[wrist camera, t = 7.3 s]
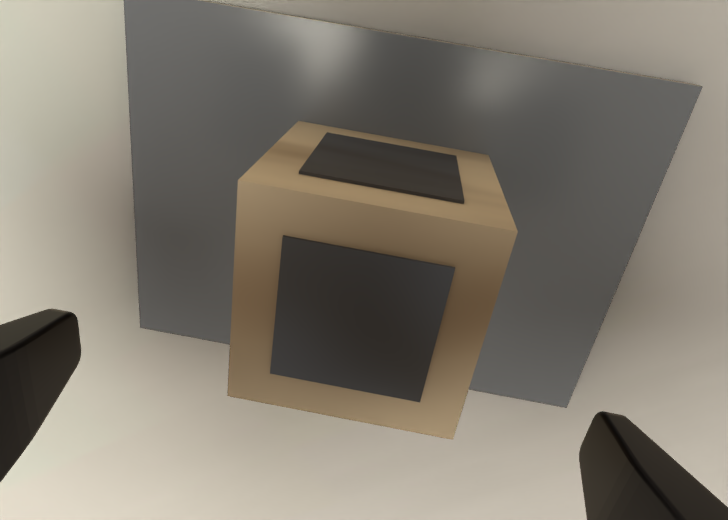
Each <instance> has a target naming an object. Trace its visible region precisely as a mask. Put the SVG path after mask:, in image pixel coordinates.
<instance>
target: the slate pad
mask: <svg viewBox="0 0 728 520" xmlns="http://www.w3.org/2000/svg"><path fill="white" fill-rule="evenodd" d="M124 14H125V34H126V53H127V73H128V93H129V113H130V133H131V153H132V172H133V192H134V212H135V232H136V252H137V272H138V292H139V311H140V328H145V329H150V330H156V331H161V332H166V333H172V334H177V335H182V336H188V337H193V338H198V339H203V340H209V341H214V342H219V343H225V344H230V334H231V314H232V293H233V272H234V251H235V230H236V209H237V188H238V179H240V178H241V177H242V176H243V175H244V174H245V173H246V172H247V171H248V170H249V169H250V168H251V167H252V166H253V165H254V164H255V163H256V162H257V161H258V160H259V159H260V158H261V157H262V156H263V155H264V154H265V153H266V152H267V151H268V150H269V149H270V148H271V147H272V146H273V145H274V144H275V143H276V142H277V141H278V140H279V139H280V138H281V137H282V136H283V135H285V134H286V133H287V132H288V131H289V130H290V129H291V128H292V127H293V126H294V125H295V124H296V123H297V122H298V121H302V122H308V123H313V124H319V125H324V126H330V127H335V128H341V129H347V130H352V131H358V132H363V133H369V134H374V135H380V136H385V137H391V138H396V139H402V140H408V141H413V142H419V143H424V144H430V145H435V146H441V147H446V148H452V149H458V150H463V151H469V152H474V153H480V154H485V155H489V158H490V160H491V163H492V165H493V168H494V171H495V173H496V176H497V179H498V181H499V184H500V186H501V189H502V192H503V194H504V197H505V199H506V202H507V205H508V207H509V210H510V212H511V215H512V218H513V220H514V223H515V225H516V228H517V231H518V233H517V236H516V239H515V242H514V245H513V249H512V252H511V255H510V258H509V261H508V265H507V268H506V271H505V274H504V277H503V281H502V284H501V287H500V290H499V293H498V297H497V300H496V303H495V306H494V309H493V312H492V316H491V319H490V322H489V325H488V328H487V332H486V335H485V338H484V341H483V344H482V348H481V351H480V354H479V357H478V360H477V364H476V367H475V370H474V373H473V376H472V380H471V383H470V386H469V390H474V391H480V392H485V393H490V394H496V395H501V396H506V397H512V398H517V399H522V400H527V401H533V402H538V403H543V404H549V405H554V406H559V407H565V408H567V405H568V403H569V400H570V398H571V396H572V393H573V391H574V389H575V386H576V384H577V382H578V379H579V377H580V375H581V372H582V370H583V367H584V365H585V363H586V360H587V358H588V356H589V353H590V351H591V349H592V346H593V344H594V342H595V339H596V337H597V334H598V332H599V330H600V327H601V325H602V323H603V320H604V318H605V316H606V313H607V311H608V308H609V306H610V304H611V301H612V299H613V297H614V294H615V292H616V290H617V287H618V285H619V283H620V280H621V278H622V275H623V273H624V271H625V268H626V266H627V264H628V261H629V259H630V257H631V254H632V252H633V250H634V247H635V245H636V242H637V240H638V238H639V235H640V233H641V231H642V228H643V226H644V224H645V221H646V219H647V216H648V214H649V212H650V209H651V207H652V205H653V202H654V200H655V198H656V195H657V193H658V191H659V188H660V186H661V183H662V181H663V179H664V176H665V174H666V172H667V169H668V167H669V165H670V162H671V160H672V158H673V155H674V153H675V150H676V148H677V146H678V143H679V141H680V139H681V136H682V134H683V132H684V129H685V127H686V124H687V122H688V120H689V117H690V115H691V113H692V110H693V108H694V106H695V103H696V101H697V99H698V96H699V94H700V91H701V89H702V86H699V85H696V84H692V83H686V82H680V81H674V80H668V79H662V78H656V77H651V76H645V75H639V74H633V73H627V72H621V71H615V70H610V69H604V68H598V67H592V66H586V65H580V64H574V63H569V62H563V61H557V60H551V59H545V58H539V57H533V56H528V55H522V54H516V53H510V52H504V51H498V50H492V49H487V48H481V47H475V46H469V45H463V44H457V43H451V42H446V41H440V40H434V39H428V38H422V37H416V36H410V35H405V34H399V33H393V32H387V31H381V30H375V29H369V28H364V27H358V26H352V25H346V24H340V23H334V22H328V21H322V20H317V19H311V18H305V17H299V16H293V15H287V14H281V13H276V12H270V11H264V10H258V9H252V8H246V7H240V6H235V5H229V4H223V3H217V2H211V1H205V0H124Z"/></svg>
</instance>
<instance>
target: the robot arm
mask: <svg viewBox="0 0 728 520" xmlns="http://www.w3.org/2000/svg"><path fill="white" fill-rule="evenodd" d="M80 357H81V345H80V336H79V327H78V320H77V317H76V315H75V314H73V313H72V312H68V311H62V310H57V309H47V310H44V311H41V312H38V313H35V314H32V315H29V316H26V317H23V318H20V319H17V320H14V321H11V322H8V323H5V324H2V325H0V482H1V481H2V479H3V478H4V477H5V475H6V474H7V473H8V471H9V470H10V469H11V467H12V466H13V465H14V464H15V462H16V461H17V460H18V458H19V457H20V456H21V454H22V453H23V452H24V450H25V449H26V447H27V446H28V445H29V443H30V442H31V440H32V439H33V437H34V436H35V434H36V433H37V431H38V430H39V428H40V427H41V425H42V423H43V422H44V420H45V418H46V417H47V415H48V413H49V412H50V410H51V408H52V407H53V405H54V403H55V402H56V400H57V399H58V397H59V395H60V394H61V392H62V390H63V389H64V387H65V385H66V384H67V382H68V380H69V379H70V377H71V375H72V374H73V372H74V370H75V369H76V367H77V365H78V363H79V361H80ZM579 462H580V469H581V477H582V485H583V492H584V500H585V507H586V515H587V520H728V507H727V506H726V505H725V504H723V503H722V502H721V501H720V500H719V499H718V498H717V497H716V496H714V495H713V494H712V493H711V492H710V491H709V490H708V489H707V488H705V487H704V486H703V485H702V484H701V483H700V482H699V481H698V480H696V479H695V478H694V477H693V476H692V475H691V474H690V473H689V472H687V471H686V470H685V469H684V468H683V467H682V466H681V465H680V464H678V463H677V462H676V461H675V460H674V459H673V458H672V457H671V456H669V455H668V454H667V453H666V452H665V451H664V450H663V449H662V448H660V447H659V446H658V445H657V444H656V443H655V442H654V441H653V440H651V439H650V438H649V437H648V436H647V435H646V434H645V433H643V432H642V431H641V430H640V429H639V428H638V427H637V426H636V425H634V424H633V423H632V422H631V421H630V420H629V419H628V418H626V417H625V416H623V415H619V414H614V413H609V412H603V411H602V412H599V413H597V414H596V415H595V417H594V418H593V420H592V423H591V425H590V427H589V429H588V431H587V434H586V436H585V438H584V440H583V442H582V445H581V448H580V453H579Z"/></svg>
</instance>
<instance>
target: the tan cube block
mask: <svg viewBox="0 0 728 520" xmlns="http://www.w3.org/2000/svg"><path fill="white" fill-rule="evenodd" d="M517 233H518V231H517V228H516V225H515V223H514V220H513V218H512V215H511V212H510V210H509V207H508V205H507V202H506V199H505V197H504V194H503V192H502V189H501V186H500V184H499V181H498V179H497V176H496V173H495V171H494V168H493V165H492V163H491V160H490V158H489V155H485V154H480V153H474V152H469V151H463V150H458V149H452V148H446V147H441V146H435V145H430V144H424V143H419V142H413V141H408V140H402V139H396V138H391V137H385V136H380V135H374V134H369V133H363V132H358V131H352V130H347V129H341V128H335V127H330V126H324V125H319V124H313V123H308V122H302V121H298V122H297V123H296V124H295V125H294V126H293V127H292V128H291V129H290V130H289V131H288V132H287V133H286V134H285V135H283V136H282V137H281V138H280V139H279V140H278V141H277V142H276V143H275V144H274V145H273V146H272V147H271V148H270V149H269V150H268V151H267V152H266V153H265V154H264V155H263V156H262V157H261V158H260V159H259V160H258V161H257V162H256V163H255V164H254V165H253V166H252V167H251V168H250V169H249V170H248V171H247V172H246V173H245V174H244V175H243V176H242V177H241V178H240V179H238V188H237V209H236V230H235V251H234V272H233V293H232V314H231V334H230V355H229V376H228V396H231V397H236V398H241V399H246V400H251V401H256V402H261V403H267V404H272V405H277V406H282V407H287V408H292V409H298V410H303V411H308V412H313V413H318V414H323V415H328V416H334V417H339V418H344V419H349V420H354V421H359V422H364V423H370V424H375V425H380V426H385V427H390V428H395V429H401V430H406V431H411V432H416V433H421V434H426V435H431V436H437V437H442V438H447V439H452V440H453V437H454V434H455V431H456V427H457V424H458V421H459V418H460V415H461V412H462V408H463V405H464V402H465V399H466V396H467V392H468V389H469V386H470V383H471V380H472V376H473V373H474V370H475V367H476V364H477V360H478V357H479V354H480V351H481V348H482V344H483V341H484V338H485V335H486V332H487V328H488V325H489V322H490V319H491V316H492V312H493V309H494V306H495V303H496V300H497V297H498V293H499V290H500V287H501V284H502V281H503V277H504V274H505V271H506V268H507V265H508V261H509V258H510V255H511V252H512V249H513V245H514V242H515V239H516V236H517Z"/></svg>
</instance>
